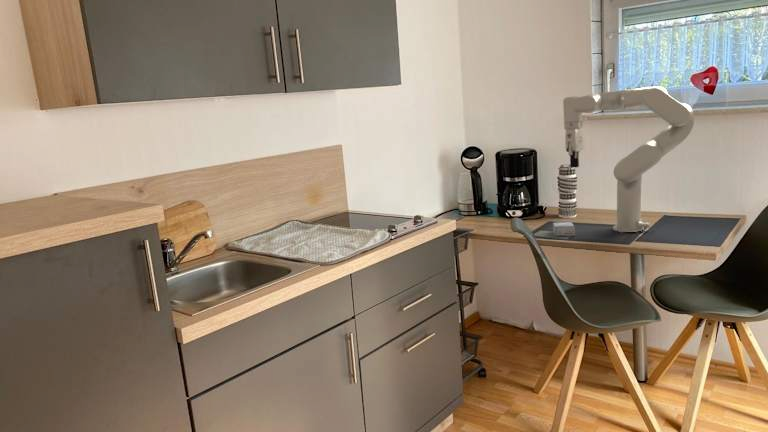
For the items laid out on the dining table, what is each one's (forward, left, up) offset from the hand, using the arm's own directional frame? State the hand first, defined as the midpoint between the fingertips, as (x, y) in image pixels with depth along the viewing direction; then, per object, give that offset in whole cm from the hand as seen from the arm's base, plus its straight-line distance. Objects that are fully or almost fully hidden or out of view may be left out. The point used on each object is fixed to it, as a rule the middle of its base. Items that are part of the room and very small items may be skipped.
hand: (574, 167), depth 269 cm
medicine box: (+2, +11, -25) cm, 27 cm away
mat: (+3, +17, -27) cm, 32 cm away
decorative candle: (+12, -19, -28) cm, 35 cm away
